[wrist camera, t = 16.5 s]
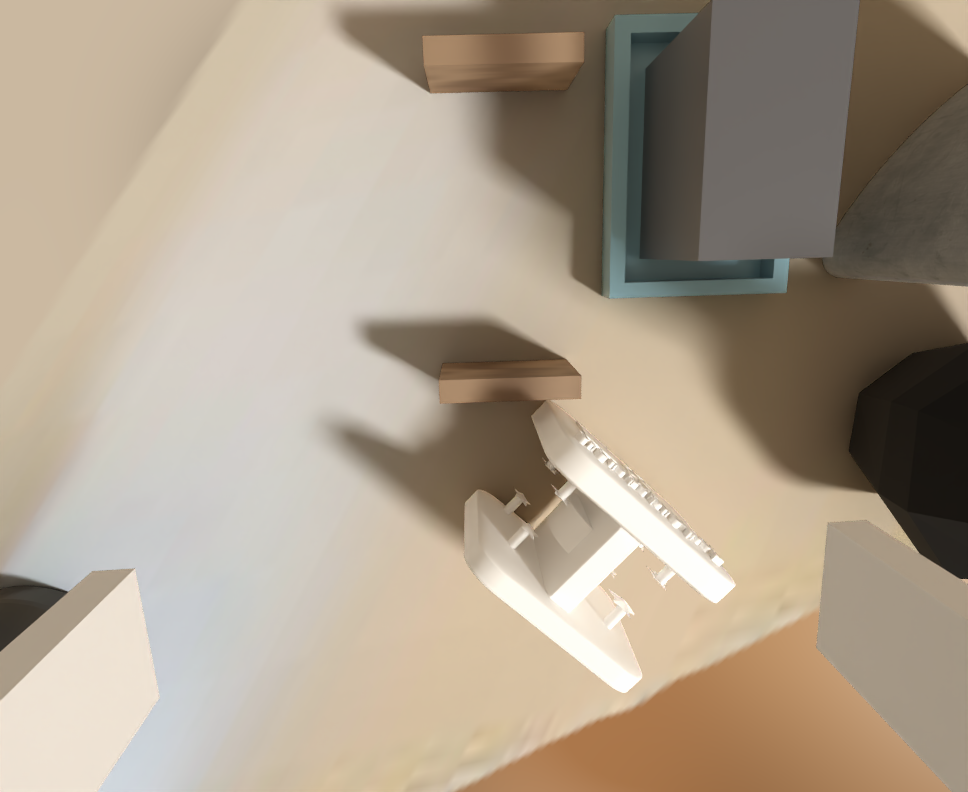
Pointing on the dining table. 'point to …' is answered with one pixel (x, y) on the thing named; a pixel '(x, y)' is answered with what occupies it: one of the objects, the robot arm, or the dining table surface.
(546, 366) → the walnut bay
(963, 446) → the bottle
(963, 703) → the robot arm
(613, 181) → the teal tray
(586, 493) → the cable organizer
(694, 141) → the grey rectangular block
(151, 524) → the dining table surface
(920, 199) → the hip flask
